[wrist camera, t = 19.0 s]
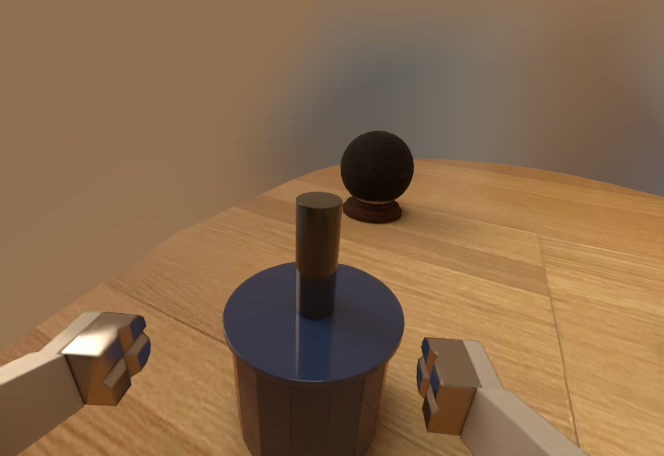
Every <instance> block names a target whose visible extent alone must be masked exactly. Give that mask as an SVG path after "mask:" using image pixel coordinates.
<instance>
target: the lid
mask: <svg viewBox="0 0 664 456" xmlns="http://www.w3.org/2000/svg"><path fill="white" fill-rule="evenodd" d="M341 215H342V199H341V198H340V197H339V196H337V195H334V194H331V193H325V192H309V193H304V194H301V195H299V196H298V197H297V198H296V262H291V263H286V264H281V265H278V266H274V267H271V268H268V269H266V270H263V271H261V272H259V273H257V274H255V275H253V276H252V277H250V278H249V279H247V280H246V281H245V282H243V283H242V284H241V285H240V286H239V287H238V288H237V289H236V290H235V291H234V292H233V293H232V295H231V296H230V298H229V300H228V302H227V303H226V306H225V309H224V312H223V320H222V322H223V331H224V336H225V340H226V343H227V345H228V347H229V348H230V350H231V352H232V353H233V354H234V356H235V357H236V358H237V359H238V360H239V361H240V362H241V363H242V364H243V365H244V366H245V367H246V368H248V369H249V370H251V371H252V372H254V373H256V374H257V375H259V376H261V377H264V378H266V379H268V380H270V381H273V382H276V383H280V384H283V385H288V386H293V387H300V388H329V387H335V386H342V385H345V384H349V383H352V382H356V381H358V380H360V379H363V378H365V377H367V376H369V375H371V374H372V373H374V372H376V371H377V370H379V369H380V368H381V367H383V366H384V365H385V364H386V363H387V362H388V361H389V360H390V359H391V358H392V357H393V355H394V354H395V352H396V351H397V349H398V348H399V345H400V343H401V340H402V337H403V331H404V315H403V310H402V308H401V305H400V303H399V301H398V299H397V298H396V296H395V295H394V294H393V293H392V291H391V290H390V289H389V288H388V287H387V286H386V285H385V284H384V283H382V282H381V281H379V280H378V279H377V278H375V277H373V276H372V275H370V274H368V273H366V272H364V271H362V270H359V269H356V268H354V267H350V266H347V265H343V264H339V263H338V257H339V243H340V229H341Z"/></svg>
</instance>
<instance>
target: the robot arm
mask: <svg viewBox="0 0 664 456" xmlns="http://www.w3.org/2000/svg"><path fill="white" fill-rule="evenodd" d="M145 327H146V323H145V320H144V317H142V316H140V315H133V314H123V313H113V312H99V311H90V310H89V311H87V312H84V313H82V314H81V315H80V316H79V317H78V318H76V319H75V320H74V321H73V322H72V323H71V324H70V325H69V326H67V327H66V328H65V329H64V330H63V331H62V332H61V333H60V334H59V335H57V336H56V337H55V338H54V339H53V340H52V341H51V342H50V343H48V344H47V345H46V346H45V347H44V348H43V349H42V350H41V351H39V352H32V353H30V354H27V355H25V356H23V357H21V358H18V359H16V360H14V361H12V362H10V363H7V364H5V365H3V366H1V367H0V456H17V455H18V454H19V453H21V452H22V451H23V450H25V449H26V448H28V447H29V446H30V445H32V444H33V443H34V442H36V441H37V440H39V439H40V438H41V437H43V436H44V435H46V434H47V433H48V432H50V431H51V430H52V429H54V428H55V427H57V426H58V425H59V424H61V423H62V422H63V421H65V420H66V419H68V418H69V417H70V416H72V415H73V414H75V413H76V412H77V411H79V410H80V409H81V408H83V407H84V404H85V405H104V406H117V404H118V403H119V402H120V400H121V399H122V397H123V396H124V395H125V393H126V392H127V390H128V389H129V387H130V386H131V377H132V376H134V375H135V374H137V373H139V372H140V371H141V370H142V369H143V367H144V366H145V364H146V363H147V360H148V357H149V354H150V346H151V344H150V339H149V337H148V336H147V335H146V334H145V333H144V332H143V330H144V328H145ZM421 348H422V353H423V356H422V357H420V358H419V359H418V364H417V386H418V391H419V394H420V395H421V396H422V397H423V398H424V403H423V407H422V410H423V414H424V419H425V423H426V428H427V432H431V433H440V434H449V435H457V436H460V438H461V440H462V441H463V442H464V444H465V445H466V446H467V447H468V449H469V450H470V451H471V453H472V454H473V455H474V456H589V455H588V454H587V453H586V452H585V451H583V450H582V449H581V448H580V447H579V446H577V445H576V444H575V443H574V442H572V441H571V440H570V439H569V438H568V437H566V436H565V435H564V434H563V433H562V432H560V431H559V430H558V429H557V428H555V427H554V426H553V425H552V424H551V423H549V422H548V421H547V420H546V419H544V418H543V417H542V416H541V415H540V414H538V413H537V412H536V411H535V410H534V409H532V408H531V407H530V406H529V405H527V404H526V403H525V402H524V401H523V400H521V399H520V398H519V397H518V396H517V395H515V394H514V393H513V392H512V391H510V390H504V388H503V385H502V383H501V381H500V379H499V377H498V375H497V373H496V371H495V369H494V367H493V365H492V363H491V361H490V359H489V357H488V355H487V353H486V351H485V349H484V347H483V345H482V343H481V342H480V341H478V340H462V339H460V340H459V339H445V338H430V337H425V338H424V340H423V342H422V346H421Z"/></svg>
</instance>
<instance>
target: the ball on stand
mask: <svg viewBox="0 0 664 456" xmlns="http://www.w3.org/2000/svg"><path fill="white" fill-rule="evenodd" d="M413 172H414V163H413V157H412V154H411V152H410V149H409V148H408V146H407V145H406V144H405V143H404V142H403V140H401V139H400V138H399V137H397V136H396V135H394V134H391V133H389V132H385V131H372V132H367V133H365V134H362V135H360V136H359V137H357V138H356V139H354V140H353V141H352V142H351V143H350V144H349V146H348V147H347V149H346V150H345V152H344V154H343V157H342V161H341V176H342V181H343V183H344V185H345V187H346V189H347V190H348V191H349V192H350V194H351V195H352V197H350V198H348V199H347V201H346V202H345V203H344V204H343V212H344V213H345V214H346V215H347V216H349V217H350V218H353V219H355V220H358V221H362V222H368V223H389V222H393V221H396V220H398V219H399V218H400V217H401V213H402V210H401V208H400V207H399V204H398V203H397V202H396V201H394V200H395V199H397V198H398V197H399V196H401V195H402V194H403V193H404V192H405V190H406V189H407V188H408V186H409V184H410V182H411V180H412V177H413Z"/></svg>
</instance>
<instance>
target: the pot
mask: <svg viewBox="0 0 664 456" xmlns="http://www.w3.org/2000/svg"><path fill="white" fill-rule="evenodd" d="M232 355H233V364H234V374H235V383H236V393H237V402H238V412H239V418H240V423H241V430H242V434H243V438H244V441H245V443H246V445H247V448H248V449H249V451H250V452H251V454H252V456H364V454H365V453H366V451H367V450H368V448H369V446H370V445H371V443H372V441H373V438H374V435H375V432H376V427H377V423H378V419H379V415H380V410H381V404H382V398H383V392H384V387H385V381H386V375H387V370H388V364H389V361H388V362H387V363H386V364H385V365H384V366H383V367H381V368H380V369H379V370H377V371H376V372H374V373H372V374H371V375H369V376H367V377H365V378H363V379H360V380H358V381H356V382H352V383H349V384H345V385H342V386H335V387H329V388H300V387H293V386H288V385H283V384H280V383H276V382H273V381H270V380H268V379H266V378H264V377H261V376H259V375H257V374H256V373H254V372H252V371H251V370H249V369H248V368H246V367H245V366H244V365H243V364H242V363H241V362H240V361H239V360H238V359H237V358H236V357H235V356H234V354H233V353H232Z"/></svg>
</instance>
